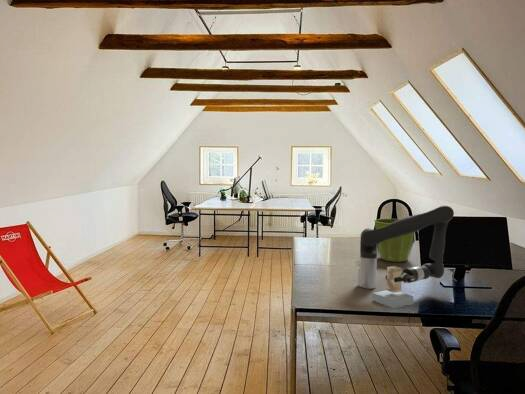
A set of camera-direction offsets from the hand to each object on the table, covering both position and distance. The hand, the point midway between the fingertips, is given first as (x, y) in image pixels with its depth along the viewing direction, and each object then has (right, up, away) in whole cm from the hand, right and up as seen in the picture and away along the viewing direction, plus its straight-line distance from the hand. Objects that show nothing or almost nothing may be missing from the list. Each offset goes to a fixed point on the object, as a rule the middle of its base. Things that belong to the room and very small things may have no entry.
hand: (390, 278), depth 221 cm
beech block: (+2, -6, +2) cm, 7 cm away
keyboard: (+67, -8, +81) cm, 106 cm away
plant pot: (+32, -5, +102) cm, 107 cm away
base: (+2, -12, +2) cm, 13 cm away
